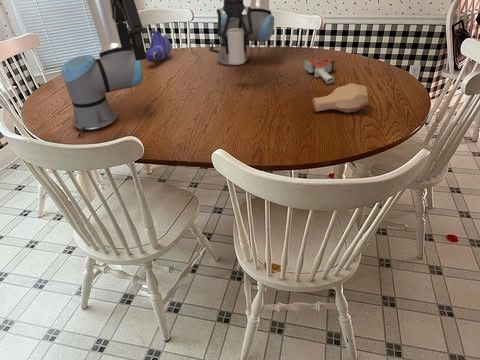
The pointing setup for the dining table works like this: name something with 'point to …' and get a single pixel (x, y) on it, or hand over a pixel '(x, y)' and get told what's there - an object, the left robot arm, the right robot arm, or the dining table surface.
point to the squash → (343, 99)
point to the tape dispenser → (321, 68)
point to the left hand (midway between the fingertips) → (133, 53)
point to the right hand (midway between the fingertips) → (236, 52)
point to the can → (236, 46)
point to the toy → (158, 47)
